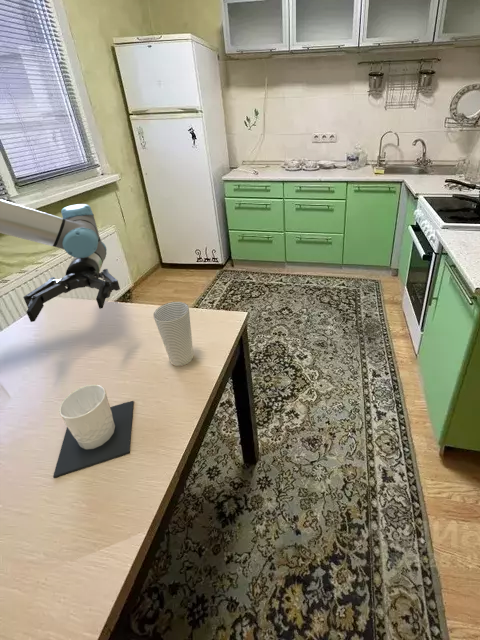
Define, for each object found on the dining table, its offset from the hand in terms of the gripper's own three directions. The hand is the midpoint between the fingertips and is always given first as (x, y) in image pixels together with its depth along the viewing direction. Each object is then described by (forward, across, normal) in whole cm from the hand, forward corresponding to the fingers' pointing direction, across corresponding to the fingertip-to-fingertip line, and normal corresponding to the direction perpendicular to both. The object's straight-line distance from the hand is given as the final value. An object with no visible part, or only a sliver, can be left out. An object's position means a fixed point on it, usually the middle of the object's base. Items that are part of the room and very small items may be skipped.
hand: (65, 310), depth 73 cm
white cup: (+18, -4, -20) cm, 28 cm away
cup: (+1, -22, -21) cm, 30 cm away
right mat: (+18, -4, -21) cm, 28 cm away
